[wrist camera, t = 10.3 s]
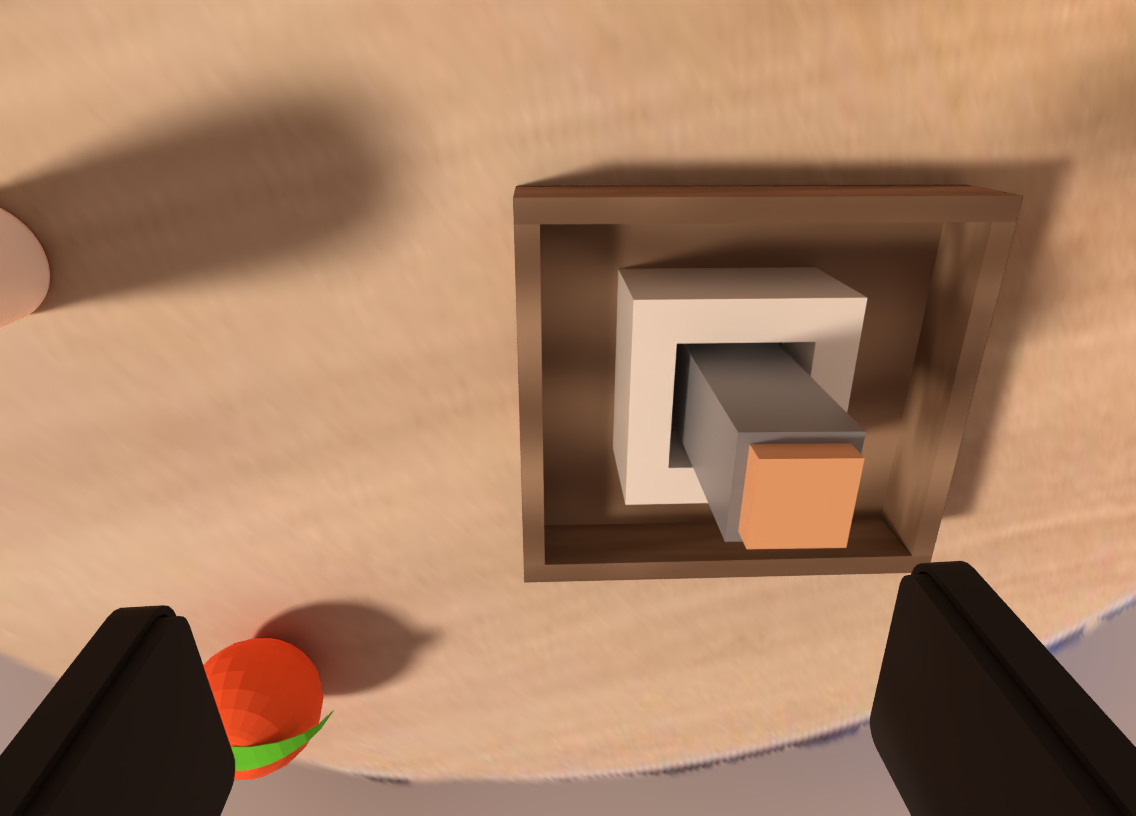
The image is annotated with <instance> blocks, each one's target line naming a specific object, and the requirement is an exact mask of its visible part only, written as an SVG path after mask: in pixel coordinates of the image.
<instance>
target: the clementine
mask: <svg viewBox="0 0 1136 816" xmlns="http://www.w3.org/2000/svg"><path fill="white" fill-rule="evenodd" d="M203 666H204V669H205V672H206V675H207V678H208V681H209V684H210V687H211V690H212V693H213V696H214V699H215V701H216V704H217V707H218V710H219V713H220V716H221V719H222V722H223V725H224V728H225V731H226V734H227V737H228V740H229V743H230V746H231V748H232V751H233V754H234V758H235V777H234V780H248V779H255V778H260V777H263V776H266V775H268V774H270V773H272V772H274V771H276V770H278V769H280V768H282V767H284V766H285V765H287V764H288V763H289V762H290V761H291V760H293V759H294V758H295V757H296V756H297V755H298V754H299V753H300V752H301V751H302V750H303V749H304V748H305V747H306V745H307V744H308V742H309V740H310V739H311V738H312V737H313V736H314V735H315V734H316V733H317V732H318V731H319V730H320V729H321V728H322V727H323V725H324V724H325V722H326V721H327V719H328V718H329V717H330V715H331V714H332V712H333V711H334V710H333V711H332V712H331V713H330V714H329V715H328V716H327V717H326V718H325V719H324V720H322V721H321V722H320V723H319V720H320V714H321V709H322V703H323V692H322V686H321V681H320V676H319V673H318V671H317V669H316V668H315V666H314V664H313V663H312V661H311V660H310V659H309V658H308V657H307V656H306V655H305V654H304V653H303V652H302V650H300V649H299V648H297V647H295V646H294V645H292V644H290V643H287V642H285V641H282V640H278V639H272V638H256V639H250V640H246V641H242V642H238V643H234V644H233V645H231V646H229V647H227V648H225V649H223V650H222V651H220V652H219V653H217V654H215V655H214V656H212V657H211V658H210V659H209V660H208V661H207V662H206V663H205V664H204V665H203Z"/></svg>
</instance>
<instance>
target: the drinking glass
mask: <svg viewBox="0 0 1136 816" xmlns="http://www.w3.org/2000/svg"><path fill="white" fill-rule="evenodd" d="M49 284H50V269H49V263H48V260H47V257H46V254H45V252H44V250H43V248H42V246H41V244H40V242H39V241H38V239H37V238H36V237H35V235H34V234H33V233H32V232H31V230H30V229H29V228H28V227H27V226H26V225H25V224H23V223H22V222H21V221H20V220H19V219H17V218H16V217H15V216H13V215H12V214H10V213H9V212H7V211H5V210H4V209H2V208H0V328H1V327H3V326H6V325H8V324H11V323H13V322H15V321H18V320H20V319H22V318H24V317H26V316H28V315H29V314H31V313H32V312H33V311H35V310H36V309H37V308H38V307H39V306H40V304H41V303H42V302H43V300H44V299H45V297H46V294H47V292H48V289H49Z"/></svg>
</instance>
